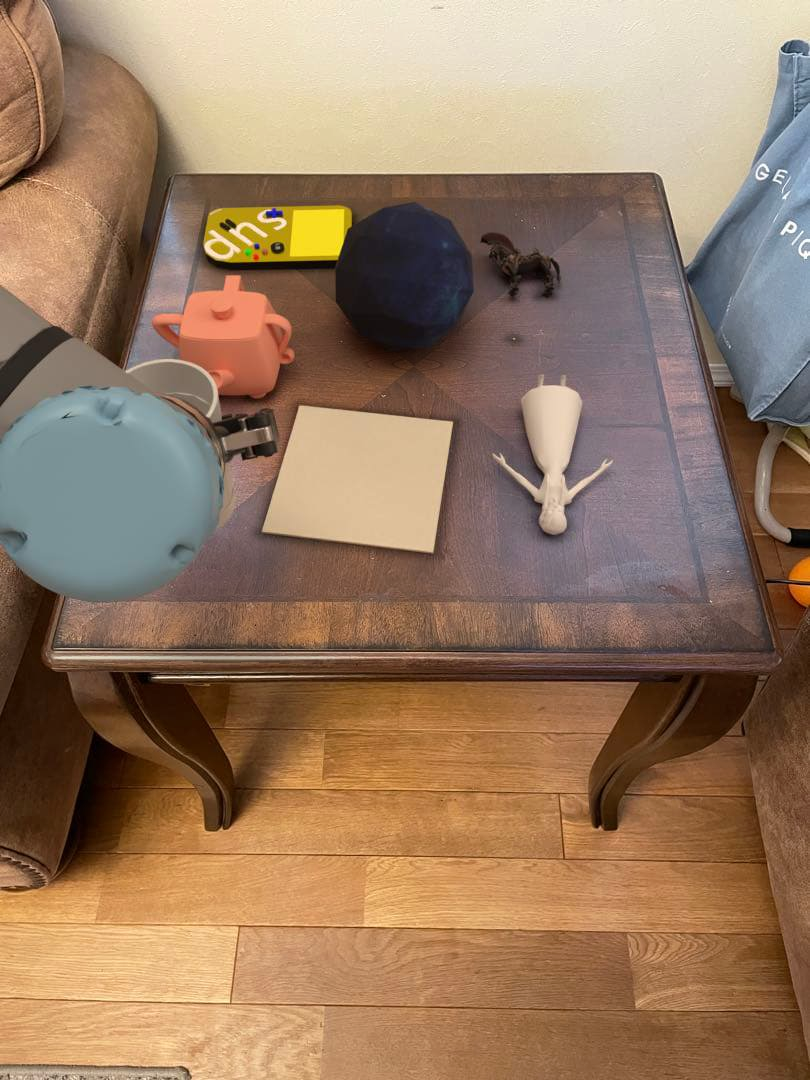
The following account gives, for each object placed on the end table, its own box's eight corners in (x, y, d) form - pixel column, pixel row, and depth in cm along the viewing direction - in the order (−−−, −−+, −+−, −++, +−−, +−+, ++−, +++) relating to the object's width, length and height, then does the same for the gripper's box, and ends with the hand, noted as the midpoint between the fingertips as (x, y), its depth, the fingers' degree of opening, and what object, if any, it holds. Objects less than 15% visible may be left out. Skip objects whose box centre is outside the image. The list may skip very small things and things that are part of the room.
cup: (260, 476, 66) (235, 371, 56) (223, 554, 62) (188, 455, 52) (172, 456, 67) (132, 349, 57) (129, 531, 63) (78, 430, 53)
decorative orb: (473, 233, 90) (394, 143, 79) (518, 320, 82) (436, 234, 71) (378, 312, 96) (292, 238, 85) (411, 400, 88) (320, 331, 77)
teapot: (224, 436, 81) (204, 366, 73) (163, 371, 86) (138, 299, 78) (316, 382, 85) (306, 310, 77) (253, 323, 90) (237, 250, 82)
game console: (351, 211, 102) (351, 200, 100) (353, 267, 96) (352, 256, 94) (209, 216, 101) (207, 206, 100) (202, 273, 95) (199, 262, 94)
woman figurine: (613, 369, 79) (624, 524, 70) (604, 398, 83) (613, 549, 74) (495, 363, 80) (492, 516, 71) (492, 392, 84) (488, 541, 75)
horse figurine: (570, 349, 91) (545, 246, 97) (582, 327, 88) (555, 222, 93) (495, 351, 90) (474, 246, 95) (505, 328, 86) (482, 221, 92)
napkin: (262, 533, 74) (261, 531, 74) (299, 407, 83) (299, 405, 83) (433, 553, 73) (433, 552, 73) (452, 423, 82) (453, 421, 81)
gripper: (-33, 583, 41) (62, 517, 63) (356, 492, 44) (316, 460, 66) (-82, 437, 39) (33, 422, 61) (325, 354, 42) (295, 369, 64)
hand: (180, 442), depth 63 cm, fingers closed on cup, 7 cm apart
